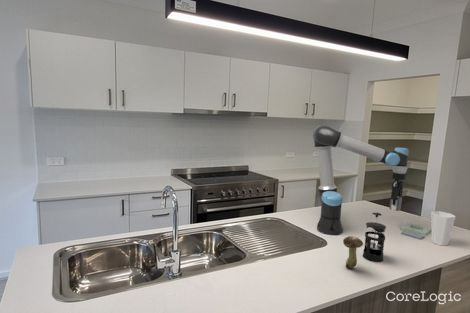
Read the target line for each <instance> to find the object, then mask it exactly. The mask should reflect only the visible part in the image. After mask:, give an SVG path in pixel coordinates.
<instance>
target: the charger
mask: <svg viewBox="0 0 470 313" xmlns="http://www.w3.org/2000/svg"><path fill="white" fill-rule="evenodd" d="M402 199H403V196H402V197H399V196H397V207H396V210H395V211H396V212H399V211H401V209H402V202H403V200H402ZM391 206H392V199H391V198H390V201H389V210H391V211H392V209H391Z"/></svg>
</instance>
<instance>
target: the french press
mask: <svg viewBox="0 0 470 313" xmlns="http://www.w3.org/2000/svg"><path fill="white" fill-rule="evenodd" d="M371 214H372V215H374V216H375V222H374V221H373V222H372V221H371V222H370V221H369V222H366V223H365V226H366V229H368V228H370V229H373V231H370V230H369V231H366V232H364V237H365V239H364V248H363V252H362V253H363V254H362V257H363V259H364V260H367V261H369V262H372V263H382V262H384V255H385V254H384V246H385V239H386V236H385V232H386V231H385V230H386V229H387V226H386V225H385V224H382V223H379V222H377V221H378V217H379V216H381V217H382V215H383V214H382V213H380V212H371ZM369 235H374V237H372V236H369ZM376 235H377V237H376Z"/></svg>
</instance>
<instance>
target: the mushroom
mask: <svg viewBox="0 0 470 313" xmlns="http://www.w3.org/2000/svg"><path fill="white" fill-rule="evenodd" d="M342 242H343V245H344V246H345V247H346V248H348V257H347V259H346V260H345V268H347V269H349V270H353V269H354V268H355V267H356V266H357V265H358V259H357V249H358V248H361V247H363V246H364V242H363V240H361V238H359V237H357V236H353V235H349V236H346V237H345V238H343V239H342Z"/></svg>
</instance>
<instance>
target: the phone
mask: <svg viewBox="0 0 470 313" xmlns="http://www.w3.org/2000/svg"><path fill="white" fill-rule="evenodd" d="M400 235H404V236H406V237H407V236H408V237H410V238H413V239H417V240H420V241H422V240H423V239H424V238H425V237H426V236H424V235H420V234H416V233H412V232H409V231H405V230H402V231H401V232H400Z"/></svg>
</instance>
